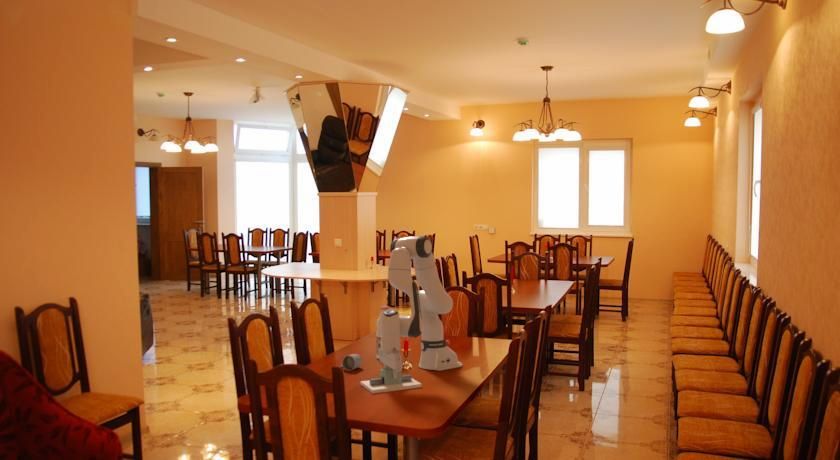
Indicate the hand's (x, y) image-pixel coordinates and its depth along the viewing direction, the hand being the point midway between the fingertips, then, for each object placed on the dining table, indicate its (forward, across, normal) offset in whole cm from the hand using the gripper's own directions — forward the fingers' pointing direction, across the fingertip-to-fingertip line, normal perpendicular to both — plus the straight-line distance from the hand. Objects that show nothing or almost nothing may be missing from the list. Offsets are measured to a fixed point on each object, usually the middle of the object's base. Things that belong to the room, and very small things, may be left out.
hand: (390, 376), depth 314 cm
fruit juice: (+5, +52, -18) cm, 55 cm away
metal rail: (+3, 0, 0) cm, 3 cm away
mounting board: (+5, 0, 0) cm, 5 cm away
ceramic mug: (+5, +38, +7) cm, 39 cm away
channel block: (+3, 0, 0) cm, 3 cm away
